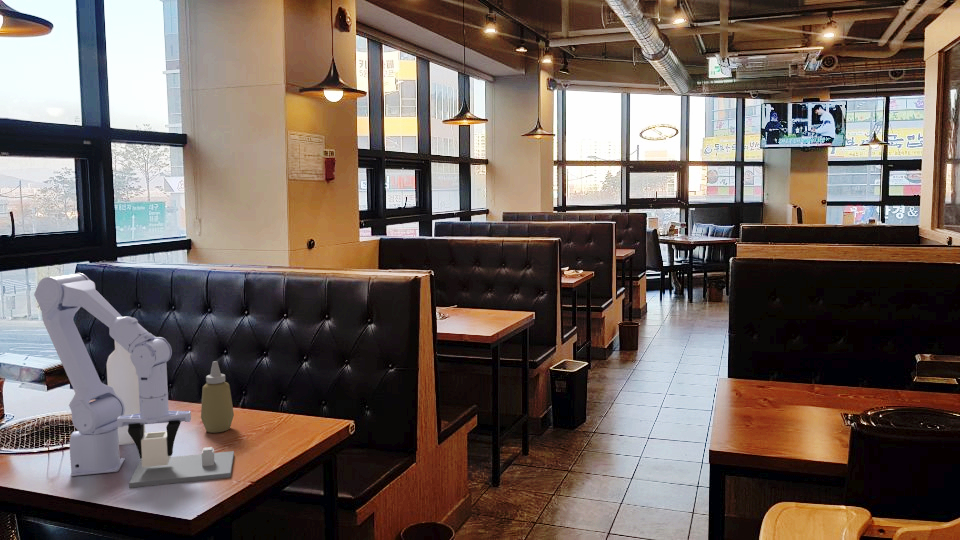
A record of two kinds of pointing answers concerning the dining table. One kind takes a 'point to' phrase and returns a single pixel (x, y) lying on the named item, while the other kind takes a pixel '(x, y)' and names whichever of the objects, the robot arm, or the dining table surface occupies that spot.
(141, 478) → the base plate
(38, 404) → the dining table surface
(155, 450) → the sleeve
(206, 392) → the squeeze bottle
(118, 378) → the bottle
